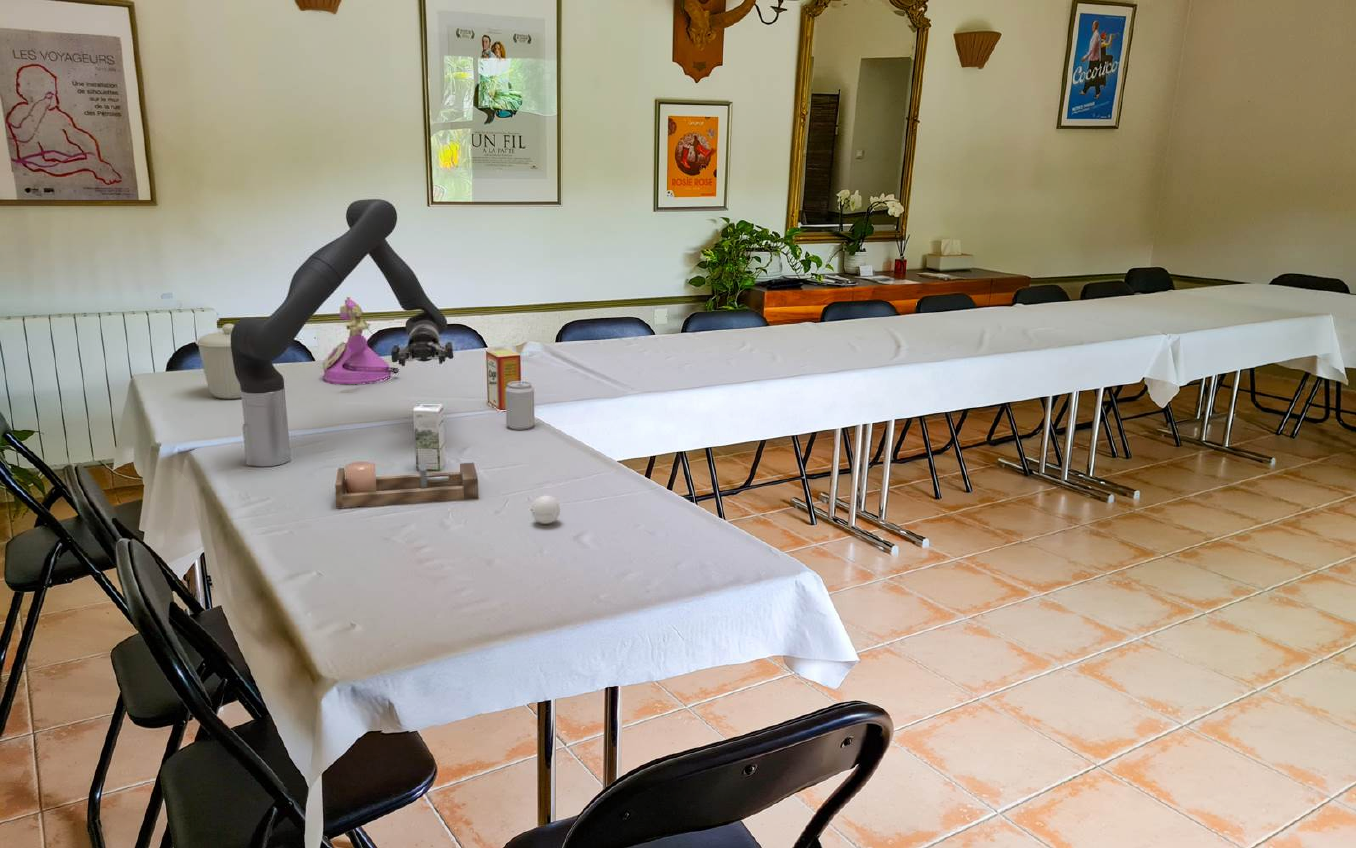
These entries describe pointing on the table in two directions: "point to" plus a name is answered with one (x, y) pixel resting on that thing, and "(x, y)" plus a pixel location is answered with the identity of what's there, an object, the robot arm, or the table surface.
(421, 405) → the syrup box
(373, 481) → the peach rounded cylinder
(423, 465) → the plate
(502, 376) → the baking soda box
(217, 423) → the table surface
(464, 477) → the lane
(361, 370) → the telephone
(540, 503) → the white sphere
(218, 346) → the canister
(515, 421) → the can
